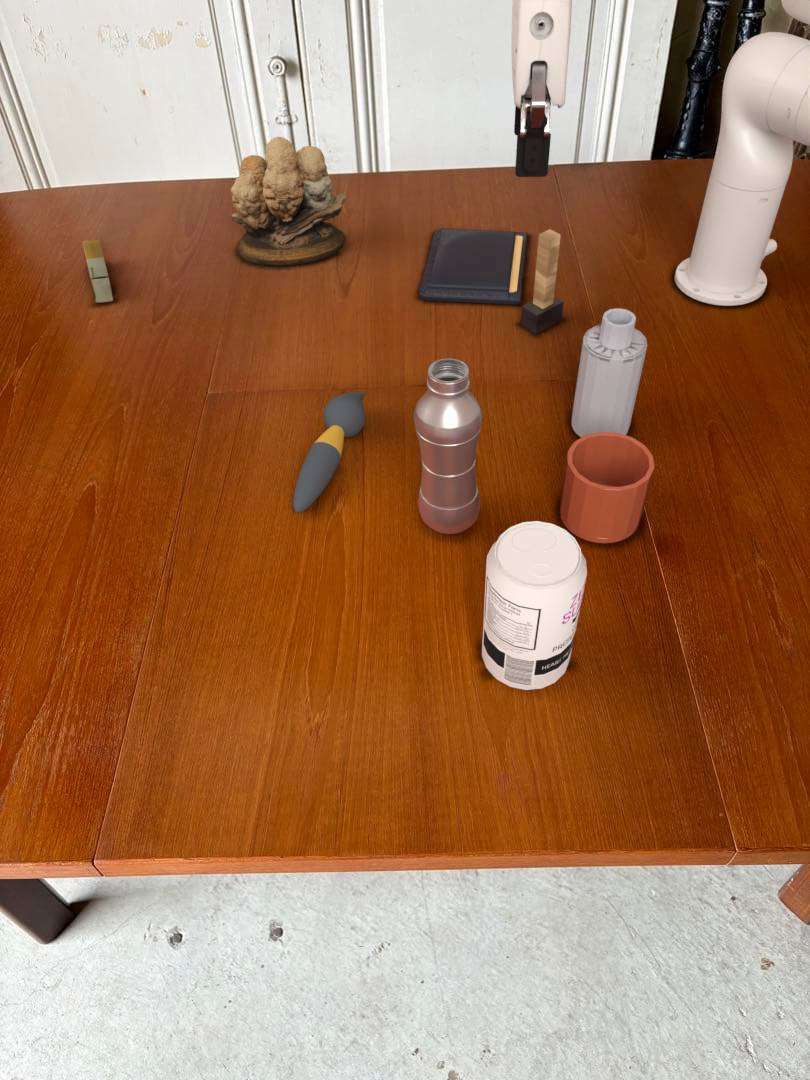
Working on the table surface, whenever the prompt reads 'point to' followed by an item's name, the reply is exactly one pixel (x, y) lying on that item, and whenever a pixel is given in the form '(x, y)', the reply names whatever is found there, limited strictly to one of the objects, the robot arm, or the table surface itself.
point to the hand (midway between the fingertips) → (530, 154)
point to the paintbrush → (328, 447)
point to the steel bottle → (608, 375)
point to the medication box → (97, 271)
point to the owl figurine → (286, 206)
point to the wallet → (475, 266)
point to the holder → (605, 486)
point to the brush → (544, 286)
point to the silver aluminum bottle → (448, 448)
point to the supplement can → (532, 604)
